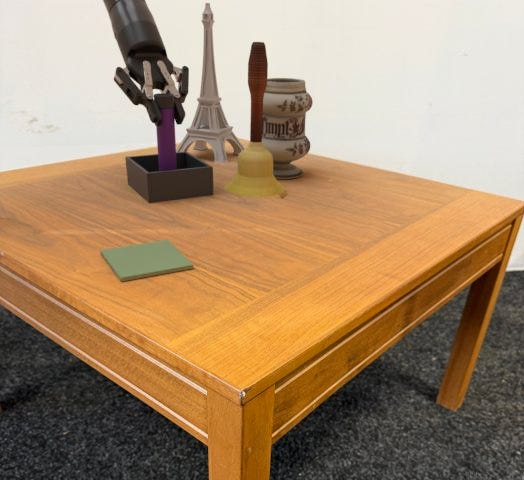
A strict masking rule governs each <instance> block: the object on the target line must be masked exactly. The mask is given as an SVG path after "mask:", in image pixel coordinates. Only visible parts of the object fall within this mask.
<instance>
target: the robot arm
mask: <svg viewBox="0 0 524 480" xmlns="http://www.w3.org/2000/svg"><path fill="white" fill-rule="evenodd" d="M102 2H103V4H104V6H105V10H106V12H107V15H108V17H109V18H108V19H109V21H110V24H111V30H112V32H113V36H114V39H115V41H116V43H117V46H118V49H119V51H120V54H121V57H122V60H123V62H124V65H125V67H123V68H122V67H121V66H117V67H116V68H115V72H114V76H113V81H114V83H115V84H116V85H117V87H119V89H120V91H122V92H123V94H124V95H125V96H126V97H127V98H128V99H129V101H130V102H131V103H132V104H133V105H134V106H140V105H141V106H143V107H144V108H145V109H146V112H147V115H148V117H149V120H150V122H151V123H152V124H154V126H155V127H156V126H160V125H161V122H162V115H161V113H160V110H159V107H158V105H157V102H156V100H154V90H159V93H166V94H173V95H174V105H175V107H174V118H175V125H177V126H178V125H179V126H180V125H182V124H183V122H184V120H185V119H186V111H185V108H184V106H183V104H184V103H185V101H186V98H187V97H188V94H189V79H190V68H189V67H188V66H186V65H183V66H182V67H178V66H174V63H173V62H172V60H170V58H169V57H168V53H167V49H166V46H165V44H164V41H163V38H162V36H161V34H160V31H159V28H158V26H157V23H156V20H155V18H154V15H153V13H152V11H151V10H150V8H149V6H148V3H147V1H146V0H102ZM172 75H173V76H174V79H175V81H174V79H173V77H172ZM135 82H136V83H135ZM175 82H176V83H178V84H177V85H178V86H177V87H176V83H175ZM138 85H139V86H138Z"/></svg>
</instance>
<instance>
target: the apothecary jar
mask: <svg viewBox="0 0 524 480" xmlns="http://www.w3.org/2000/svg"><path fill="white" fill-rule="evenodd" d="M313 102H314V101H313V98H312V95H310V94H309V92H308V91H307V88H306V80H304V79H300V78H291V77H269V78H268V77H267V86H266V90H265V93H264V97H263V120H262V144H263V147H264V148H265V149H266V150H268V151H269V152H270V153H271V154H272V157H273V175H274V177H275V178H276V180H291V179H297V178H300V177H303V175H304V171H303V169H302V168H300V167H299V166H296V165H294V164H291V163H292V162H295V161H297V160H298V161H299V160H300V159H302V158H304V157H305V156H307V154H308V153H309V152H310V150H311V142H310V139H309V138H308V136H306V116H307V112H309V111H310V110H311V108H312V106H313V104H314V103H313Z"/></svg>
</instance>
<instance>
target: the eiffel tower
mask: <svg viewBox="0 0 524 480" xmlns="http://www.w3.org/2000/svg"><path fill="white" fill-rule="evenodd" d="M201 15H202V17H201V23H202V25H203V51H202V53H203V54H202V69H201V81H200V82H201V84H200V89H199V90H200V91H199V97H197V98H196V101H197V107H196V110H195V113H194V116H193V120H192V122H191V125H190V127H187V128H186V129H185V130H186V132H187V133H186V134H185V136H184V137H183V139H182V140H181V142H180V143H179V145H178V147H176V152H188V150H189V148H190V147H191V146H192V145H193V144H194V145H193V146H192V149H193V150H198V151H204V150H207V149H208V148H209V146H210V148H211V149H212V151H213V155H214V156H213V157H214V160H213V161H214V162H213V163H230V161H229V159H228V156H227V153H226V146H225V145H226V142H228V143H229V144H230V146H231V147H232V149H233V152H232V154H233V155H237V156H239V153H240V152H241V151H243V150H244V149H246V147H245V146H244V144H242V142H241V141H240V139H239V138H238V137H237V135H236V134H235V133H234V131H233V129H234V126H231V125H229V122H228V120H227V117H226V115H225V113H224V110H223V107H222V104H221V101H222V97H220V95H219V88H218V81H217V80H218V79H217V71H216V63H215V51H214V49H215V48H214V33H213V27H214V23H215V19H214V12H213V11H212V7H211V3H210V2H205V5H204V10H203V11H202V14H201ZM207 144H208V145H209V146H208V145H207Z"/></svg>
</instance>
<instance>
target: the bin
mask: <svg viewBox="0 0 524 480" xmlns="http://www.w3.org/2000/svg"><path fill="white" fill-rule="evenodd" d="M124 160H125V167H126V168H125V169H126V178H127V180H126V181H127V185H128V186H129V187H130V188H131V189H132V190H133V191H135V193H137V194H138V195H139V196H140V197H141V198H142V199H143V200H144V201H145V202H147V203H148V204H153V203H162V202H170V201H177V200H187V199H194V198H201V197H210V196H214V166H213V165H211V164H210V163H207V162H205V161H204V160H202V159H201V158H199V157H197V156H195V155H194V154H192V153H191V152H189V151H187V152H176V164H177V170H168V171H159V162H158V153H154V154H143V155H142V154H141V155H131V156H130V155H129V156H125V157H124Z"/></svg>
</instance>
